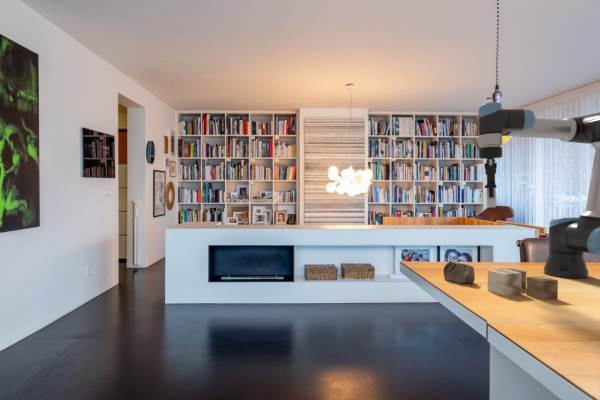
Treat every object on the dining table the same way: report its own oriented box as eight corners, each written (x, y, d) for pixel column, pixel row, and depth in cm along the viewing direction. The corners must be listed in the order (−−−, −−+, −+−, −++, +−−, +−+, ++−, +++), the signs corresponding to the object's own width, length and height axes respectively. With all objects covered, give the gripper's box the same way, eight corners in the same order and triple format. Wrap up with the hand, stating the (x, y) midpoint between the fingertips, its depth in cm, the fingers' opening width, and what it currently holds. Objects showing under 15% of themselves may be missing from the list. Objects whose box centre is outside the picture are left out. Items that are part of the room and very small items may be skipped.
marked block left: (543, 294, 130) (543, 275, 130) (557, 299, 124) (557, 279, 124) (526, 295, 130) (526, 276, 129) (540, 300, 124) (540, 280, 123)
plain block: (504, 289, 137) (504, 269, 137) (521, 294, 131) (521, 273, 130) (487, 290, 135) (487, 270, 135) (504, 296, 128) (504, 274, 128)
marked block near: (514, 285, 144) (514, 267, 144) (526, 288, 138) (526, 270, 138) (498, 285, 143) (499, 268, 143) (510, 289, 137) (510, 271, 137)
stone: (467, 284, 143) (468, 265, 143) (439, 279, 153) (440, 260, 153) (479, 283, 147) (480, 264, 147) (451, 277, 157) (451, 259, 157)
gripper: (479, 150, 156) (480, 205, 157) (478, 144, 134) (479, 208, 134) (500, 149, 153) (501, 205, 153) (503, 142, 130) (504, 207, 131)
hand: (491, 206), depth 144 cm, fingers open, 13 cm apart
